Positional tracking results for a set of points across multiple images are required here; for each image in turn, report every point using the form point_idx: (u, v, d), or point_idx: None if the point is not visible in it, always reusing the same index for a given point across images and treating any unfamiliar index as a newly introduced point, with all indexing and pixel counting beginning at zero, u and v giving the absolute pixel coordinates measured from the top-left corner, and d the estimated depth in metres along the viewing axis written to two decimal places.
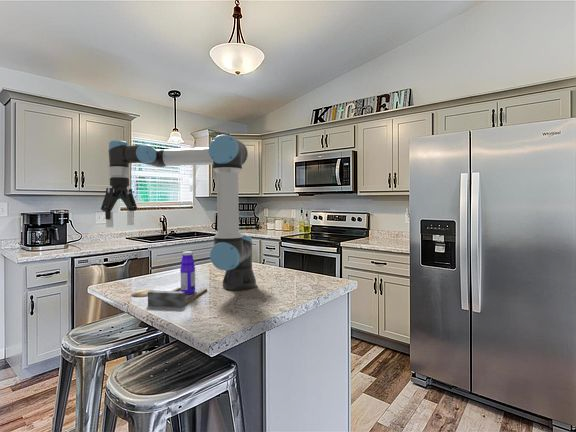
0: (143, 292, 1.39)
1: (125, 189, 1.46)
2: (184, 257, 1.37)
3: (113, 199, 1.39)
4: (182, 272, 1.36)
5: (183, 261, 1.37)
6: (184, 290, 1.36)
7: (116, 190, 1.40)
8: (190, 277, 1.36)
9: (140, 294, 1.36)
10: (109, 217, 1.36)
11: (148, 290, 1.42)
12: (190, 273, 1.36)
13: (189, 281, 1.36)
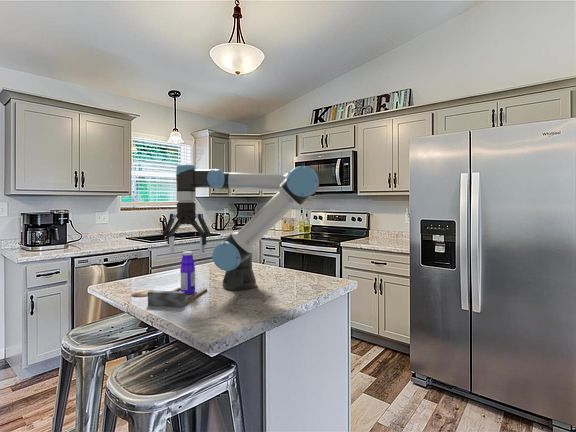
0: (143, 292, 1.39)
1: (190, 214, 1.37)
2: (184, 257, 1.37)
3: None
4: (182, 272, 1.36)
5: (183, 261, 1.37)
6: (184, 290, 1.36)
7: (177, 216, 1.38)
8: (190, 277, 1.36)
9: (140, 294, 1.36)
10: (168, 242, 1.39)
11: (148, 290, 1.42)
12: (190, 273, 1.36)
13: (189, 281, 1.36)
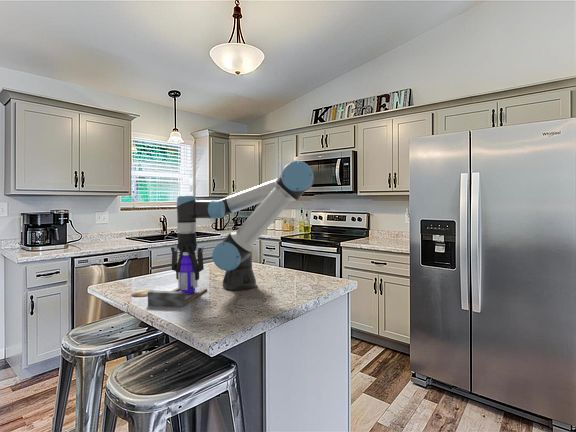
0: (143, 292, 1.39)
1: (191, 244, 1.37)
2: (184, 257, 1.37)
3: None
4: (181, 272, 1.36)
5: (183, 261, 1.37)
6: (184, 290, 1.36)
7: (178, 247, 1.38)
8: (190, 277, 1.36)
9: (140, 294, 1.36)
10: (177, 277, 1.39)
11: (148, 290, 1.42)
12: (190, 273, 1.36)
13: (189, 281, 1.36)
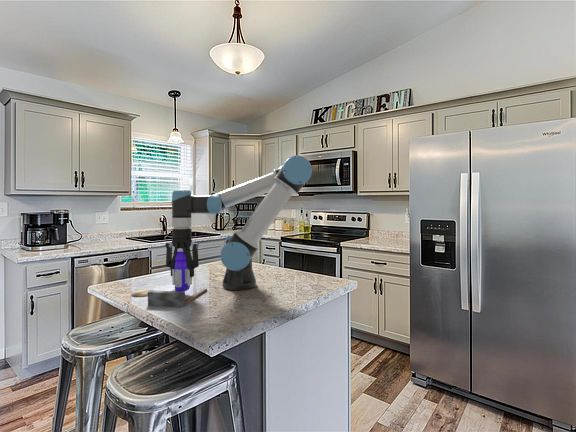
0: (143, 292, 1.39)
1: (186, 240, 1.33)
2: (178, 253, 1.33)
3: None
4: (176, 269, 1.32)
5: (177, 257, 1.33)
6: (178, 287, 1.32)
7: (173, 242, 1.35)
8: (184, 274, 1.32)
9: (140, 294, 1.36)
10: (172, 274, 1.35)
11: (148, 290, 1.42)
12: (184, 270, 1.32)
13: (183, 278, 1.32)
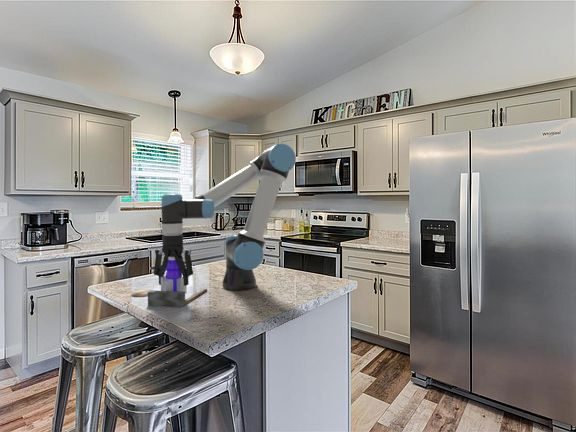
0: (143, 292, 1.39)
1: (177, 247, 1.26)
2: (170, 262, 1.26)
3: None
4: (167, 279, 1.24)
5: (169, 266, 1.25)
6: None
7: (163, 250, 1.27)
8: (176, 284, 1.25)
9: (140, 294, 1.36)
10: (160, 282, 1.28)
11: (148, 290, 1.42)
12: (176, 280, 1.25)
13: (175, 288, 1.25)
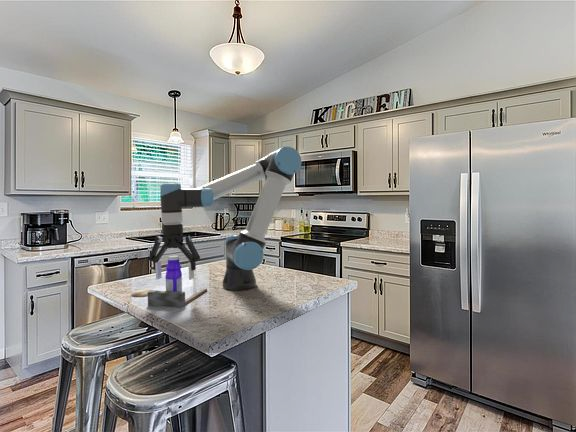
0: (143, 292, 1.39)
1: (177, 237, 1.26)
2: (170, 262, 1.26)
3: None
4: (167, 279, 1.24)
5: (168, 266, 1.25)
6: None
7: (163, 239, 1.27)
8: (176, 284, 1.25)
9: (140, 294, 1.36)
10: None
11: (148, 290, 1.42)
12: (176, 280, 1.25)
13: (175, 288, 1.25)
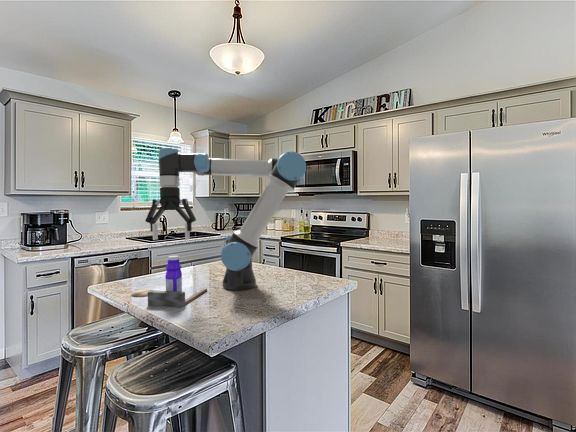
0: (143, 292, 1.39)
1: (174, 199, 1.32)
2: (170, 262, 1.26)
3: None
4: (167, 279, 1.24)
5: (168, 266, 1.25)
6: None
7: (160, 201, 1.33)
8: (176, 284, 1.25)
9: (140, 294, 1.36)
10: (151, 229, 1.34)
11: (148, 290, 1.42)
12: (176, 280, 1.25)
13: (175, 288, 1.25)
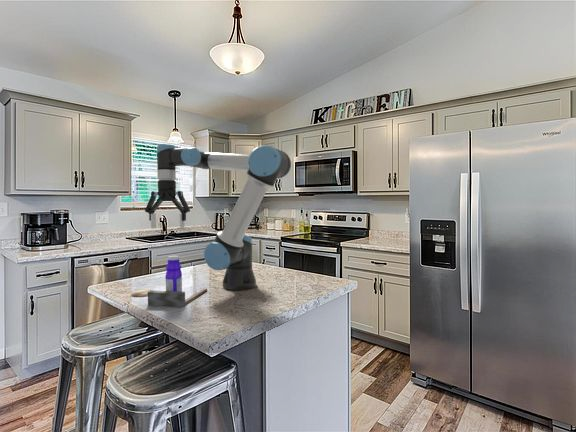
0: (143, 292, 1.39)
1: (170, 191, 1.44)
2: (170, 262, 1.26)
3: None
4: (167, 279, 1.24)
5: (168, 266, 1.25)
6: None
7: (158, 193, 1.45)
8: (176, 284, 1.25)
9: (140, 294, 1.36)
10: (150, 219, 1.47)
11: (148, 290, 1.42)
12: (176, 280, 1.25)
13: (175, 288, 1.25)
